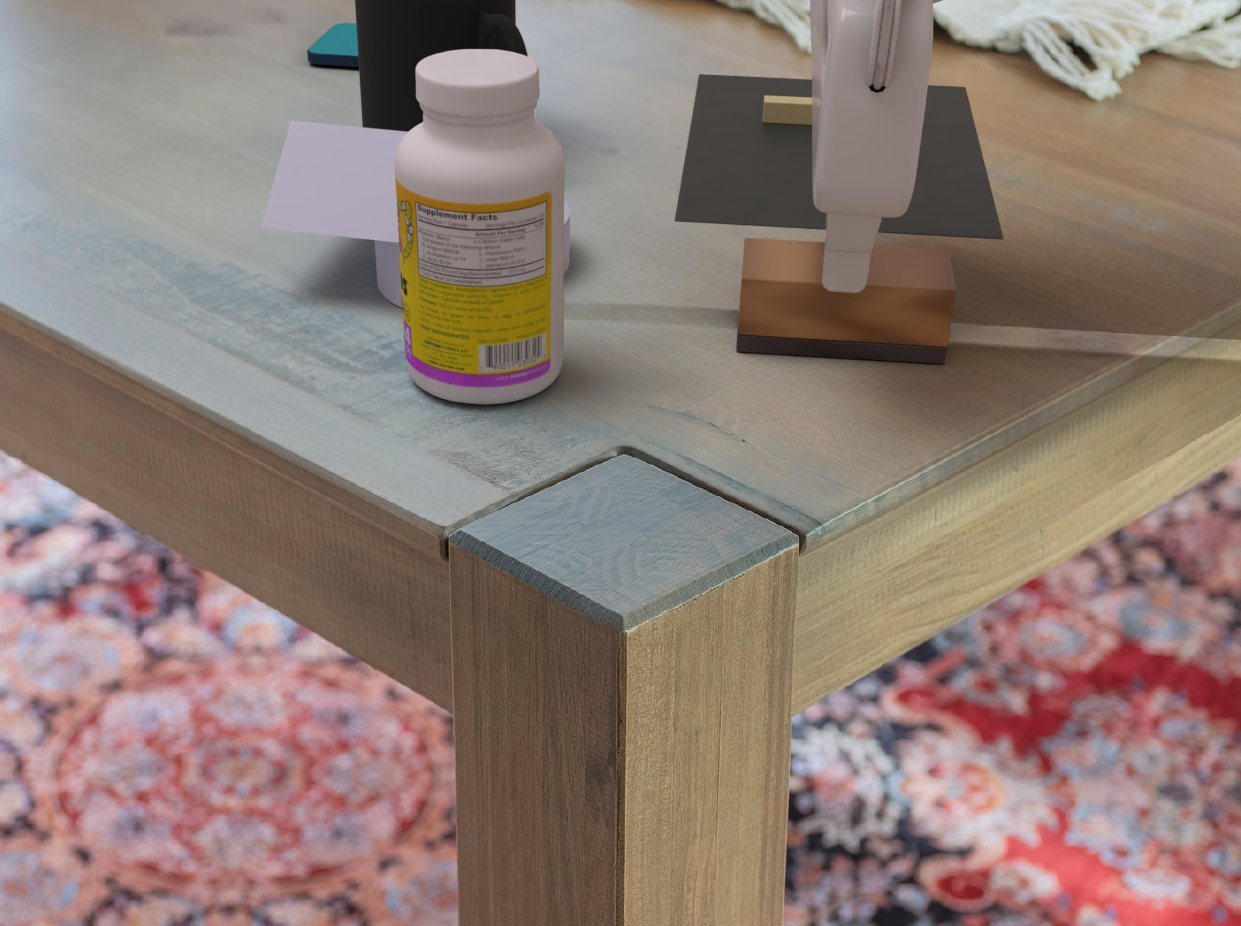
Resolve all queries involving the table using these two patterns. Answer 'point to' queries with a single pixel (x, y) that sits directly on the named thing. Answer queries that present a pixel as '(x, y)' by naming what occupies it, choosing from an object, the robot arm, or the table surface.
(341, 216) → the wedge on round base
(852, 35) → the robot arm
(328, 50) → the smartphone
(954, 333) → the table surface
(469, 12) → the mug
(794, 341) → the eraser
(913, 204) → the slate board
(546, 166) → the supplement bottle
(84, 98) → the table surface
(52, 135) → the table surface
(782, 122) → the chalk
